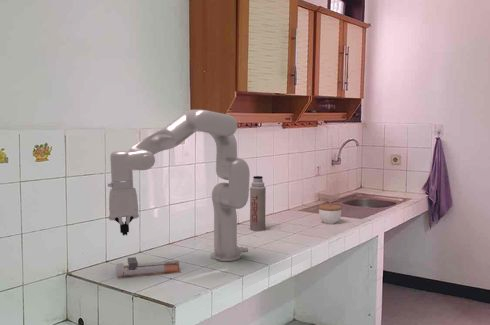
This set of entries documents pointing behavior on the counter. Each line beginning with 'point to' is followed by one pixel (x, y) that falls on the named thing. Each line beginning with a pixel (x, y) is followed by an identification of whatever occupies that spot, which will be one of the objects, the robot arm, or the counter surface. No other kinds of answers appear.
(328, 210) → the lidded bowl
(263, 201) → the thermos bottle
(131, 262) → the tab
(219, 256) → the robot arm
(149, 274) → the walnut board
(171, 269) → the tongs fixed
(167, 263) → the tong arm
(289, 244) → the counter surface
